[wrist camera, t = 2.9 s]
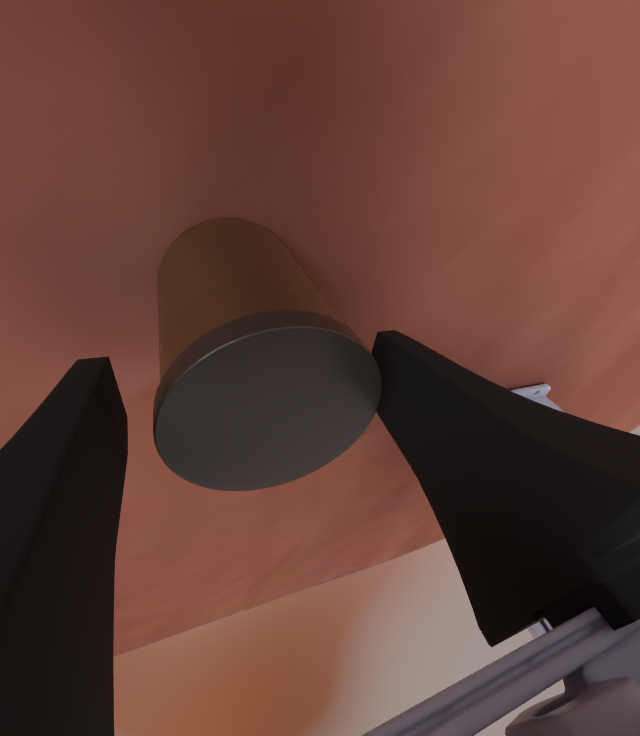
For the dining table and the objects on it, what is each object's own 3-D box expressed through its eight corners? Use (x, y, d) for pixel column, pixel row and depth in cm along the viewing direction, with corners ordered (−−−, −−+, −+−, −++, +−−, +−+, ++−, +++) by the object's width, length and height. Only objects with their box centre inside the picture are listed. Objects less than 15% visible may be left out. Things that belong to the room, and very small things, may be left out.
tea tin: (307, 216, 13) (409, 317, 8) (293, 340, 16) (358, 466, 11) (139, 209, 11) (128, 339, 6) (164, 352, 14) (171, 511, 9)
